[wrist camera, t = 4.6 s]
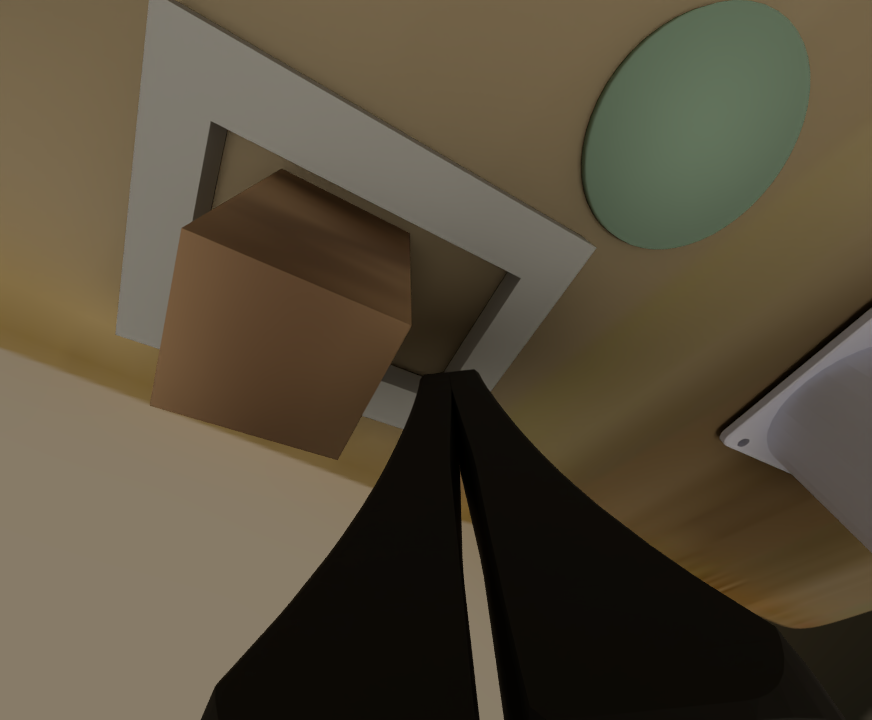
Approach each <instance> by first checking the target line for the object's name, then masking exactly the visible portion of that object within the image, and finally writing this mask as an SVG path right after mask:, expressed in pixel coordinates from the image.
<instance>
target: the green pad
mask: <svg viewBox="0 0 872 720" xmlns="http://www.w3.org/2000/svg"><path fill="white" fill-rule="evenodd" d="M809 93H810V68H809V60H808V55H807V52H806V49H805V45H804V42H803V41H802V39H801V37H800V35H799V33H798V31H797V29H796V28H795V27H794V26H793V24H792V23H791V22H790V21H789V19H787V18H786V17H785V16H784V15H782V14H781V13H780V12H779V11H777V10H775V9H773V8H771V7H769V6H767V5H765V4H761V3H757V2H753V1H744V0H732V1H724V2H717V3H714V4H711V5H707V6H704V7H701V8H697V9H694V10H691V11H689V12H686V13H684V14H682V15H680V16H678V17H676V18H674V19H672V20H670V21H669V22H667V23H666V24H664V25H662V26H661V27H659V28H658V29H657V30H655V31H654V32H653V33H652V34H650V35H649V36H648V37H646V38H645V39H644V40H643V41H642V42H641V43H640V44H639V45H638V46H637V47H636V48H635V49H634V50H633V51H632V52H631V53H630V54H629V55H628V56H627V57H626V59H625V60H624V61H623V62H622V63H621V64H620V66H619V67H618V68H617V70H616V71H615V73H614V74H613V75H612V77H611V78H610V80H609V81H608V83H607V84H606V86H605V88H604V90H603V92H602V94H601V95H600V97H599V99H598V101H597V104H596V106H595V108H594V111H593V113H592V115H591V118H590V121H589V124H588V128H587V131H586V135H585V140H584V145H583V152H582V181H583V187H584V192H585V195H586V198H587V202H588V204H589V206H590V208H591V210H592V212H593V214H594V215H595V217H596V218H597V220H598V221H599V222H600V223H601V224H602V225H603V226H604V228H605V229H606V230H608V231H609V232H611V233H612V234H613V235H615V236H616V237H618V238H619V239H621V240H623V241H625V242H627V243H629V244H631V245H634V246H637V247H641V248H647V249H670V248H677V247H681V246H685V245H689V244H691V243H694V242H697V241H700V240H702V239H704V238H706V237H708V236H710V235H712V234H714V233H716V232H718V231H719V230H721V229H722V228H724V227H726V226H727V225H729V224H730V223H731V222H733V221H734V220H735V219H737V218H738V217H739V216H740V215H742V214H743V213H744V212H745V211H746V210H747V209H749V208H750V207H751V206H752V205H753V204H754V203H755V202H756V201H757V200H758V199H759V197H760V196H761V195H762V194H763V193H764V192H765V191H766V189H767V188H768V187H769V186H770V185H771V183H772V182H773V181H774V179H775V178H776V176H777V175H778V174H779V172H780V171H781V169H782V168H783V166H784V164H785V162H786V161H787V159H788V157H789V156H790V154H791V152H792V150H793V147H794V145H795V143H796V141H797V139H798V136H799V134H800V131H801V128H802V125H803V122H804V119H805V115H806V111H807V107H808V100H809Z"/></svg>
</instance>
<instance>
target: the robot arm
mask: <svg viewBox="0 0 872 720" xmlns="http://www.w3.org/2000/svg"><path fill="white" fill-rule="evenodd" d="M720 440H721V441H722V442H723V443H724V444H725V445H726V446H728V447H730V448H732V449H735V450H737V451H739V452H742V453H744V454H746V455H748V456H751V457H753V458H755V459H758V460H760V461H762V462H765V463H767V464H769V465H771V466H774V467H776V468H778V469H781V470H783V471H785V472H788V473H790V474H792V475H793V476H794V477H795V478H796V479H797V480H798V481H799V482H800V483H801V484H802V485H803V486H804V487H805V488H806V489H807V490H808V491H809V492H810V493H811V494H812V495H813V496H814V497H815V498H816V499H817V500H818V501H819V502H820V503H821V504H822V505H824V506H825V507H826V508H827V509H828V510H829V511H830V512H831V513H832V514H833V515H834V516H835V517H836V518H837V519H838V520H839V521H840V522H841V523H842V524H843V525H844V526H845V527H846V528H847V529H848V530H849V531H850V532H851V533H852V534H853V535H854V536H855V537H856V538H857V539H858V540H859V541H860V542H861V543H862V544H863V545H864V546H865V547H866V548H867V549H868V550H869V551H870V552H871V553H872V307H871V308H870V309H869V310H868V311H867V312H865V313H864V314H863V315H862V316H861V317H859V318H858V319H857V320H856V321H855V322H853V323H852V324H851V325H850V326H849V327H847V328H846V329H845V330H844V331H843V332H841V333H840V334H839V335H838V336H837V337H835V338H834V339H833V340H832V341H831V342H829V343H828V344H827V345H826V346H825V347H823V348H822V349H821V350H820V351H818V352H817V353H816V354H815V355H814V356H812V357H811V358H810V359H809V360H808V361H806V362H805V363H804V364H803V365H802V366H800V367H799V368H798V369H797V370H796V371H794V372H793V373H792V374H791V375H790V376H788V377H787V378H786V379H785V380H784V381H782V382H781V383H780V384H779V385H778V386H776V387H775V388H774V389H773V390H772V391H770V392H769V393H768V394H767V395H766V396H764V397H763V398H762V399H761V400H760V401H758V402H757V403H756V404H755V405H754V406H752V407H751V408H750V409H749V410H748V411H746V412H745V413H744V414H743V415H742V416H740V417H739V418H738V419H737V420H735V421H734V422H733V423H732V424H731V425H729V426H728V427H727V428H726V429H725V430H723V432H722V433H721V435H720ZM459 465H460V466H459ZM460 472H461V476H462V481H463V485H464V489H465V494H466V498H467V502H468V507H469V511H470V515H471V520H472V524H473V528H474V532H475V537H476V541H477V545H478V550H479V554H480V559H481V564H482V569H483V575H484V581H485V588H486V595H487V602H488V609H489V615H490V623H491V630H492V637H493V644H494V651H495V658H496V665H497V672H498V679H499V686H500V693H501V700H502V708H503V714H504V720H846V719H845V718H844V717H843V715H842V714H841V712H840V711H839V709H838V708H837V707H836V705H835V704H834V702H833V701H832V699H831V698H830V697H829V695H828V694H827V692H826V691H825V689H824V688H823V686H822V685H821V683H820V682H819V681H818V679H817V678H816V677H815V675H814V674H813V673H812V671H811V670H810V669H809V667H808V666H807V665H806V663H805V662H804V661H803V660H802V659H801V658H800V656H799V655H798V654H797V653H796V651H795V650H794V649H793V648H792V646H791V645H790V644H789V643H788V642H787V640H786V639H785V638H784V637H783V636H782V634H781V633H780V632H779V630H778V629H777V628H776V627H775V626H774V625H772V624H770V623H769V622H767V621H766V620H764V619H762V618H761V617H759V616H758V615H756V614H754V613H753V612H751V611H750V610H748V609H746V608H745V607H743V606H742V605H740V604H738V603H737V602H735V601H734V600H732V599H730V598H729V597H727V596H726V595H724V594H722V593H721V592H719V591H718V590H716V589H714V588H713V587H711V586H710V585H708V584H706V583H705V582H703V581H702V580H700V579H699V578H697V577H696V576H694V575H693V574H691V573H690V572H688V571H687V570H685V569H684V568H682V567H681V566H679V565H678V564H677V563H675V562H674V561H672V560H671V559H669V558H668V557H667V556H665V555H664V554H662V553H661V552H659V551H658V550H656V549H655V548H654V547H652V546H651V545H649V544H648V543H647V542H645V541H644V540H643V539H642V538H640V537H639V536H638V535H636V534H635V533H634V532H632V531H631V530H630V529H628V528H627V527H626V526H625V525H623V524H622V523H621V522H619V521H618V520H617V519H615V518H614V517H613V516H611V515H610V514H609V513H608V512H606V511H605V510H604V509H602V508H601V507H600V506H599V505H597V504H596V503H595V502H594V501H593V500H592V499H590V498H589V497H588V496H587V495H586V494H585V493H583V492H582V491H581V490H580V489H579V488H577V487H576V486H575V485H574V484H573V483H572V482H571V481H570V480H569V479H568V478H566V477H565V476H564V475H563V474H562V473H561V472H560V471H559V470H558V469H557V468H556V467H555V466H554V465H553V464H552V463H551V462H550V461H549V460H548V459H547V458H546V457H545V456H544V455H543V454H542V453H541V452H540V451H539V450H538V449H537V448H536V447H535V446H534V445H533V444H532V443H531V442H530V441H529V440H528V438H527V437H526V436H525V435H524V434H523V433H522V432H521V430H520V429H519V428H518V427H517V426H516V425H515V423H514V422H513V421H512V420H511V418H510V417H509V416H508V415H507V414H506V412H505V411H504V410H503V409H502V407H501V406H500V405H499V403H498V402H497V401H496V399H495V398H494V396H493V395H492V394H491V392H490V391H489V389H488V388H487V386H486V385H485V383H484V381H483V380H482V378H481V376H480V374H479V372H477V371H476V370H475V369H470V370H462V371H453V372H444V373H436V374H427V375H423V376H422V377H421V379H420V382H419V387H418V391H417V394H416V398H415V401H414V404H413V406H412V409H411V412H410V415H409V417H408V420H407V422H406V424H405V427H404V429H403V432H402V434H401V436H400V438H399V441H398V443H397V445H396V447H395V449H394V451H393V453H392V455H391V457H390V459H389V461H388V463H387V465H386V467H385V469H384V470H383V472H382V474H381V476H380V478H379V479H378V481H377V483H376V485H375V486H374V488H373V490H372V491H371V493H370V494H369V496H368V498H367V499H366V501H365V503H364V504H363V506H362V507H361V509H360V510H359V512H358V513H357V515H356V516H355V518H354V519H353V521H352V522H351V524H350V525H349V527H348V528H347V530H346V531H345V532H344V534H343V536H342V537H341V538H340V540H339V541H338V542H337V544H336V545H335V547H334V548H333V549H332V550H331V552H330V553H329V555H328V556H327V557H326V558H325V560H324V561H323V562H322V564H321V565H320V566H319V567H318V568H317V570H316V571H315V572H314V573H313V575H312V576H311V578H309V580H308V581H307V582H306V583H305V585H304V586H303V587H302V588H301V590H300V591H299V592H298V593H297V595H296V596H295V597H294V598H293V600H292V601H291V602H290V603H289V604H288V606H287V607H286V608H285V609H284V610H283V612H282V613H281V614H280V615H279V616H278V617H277V618H276V620H275V621H274V622H273V623H272V624H271V625H270V626H269V627H268V628H267V629H266V631H265V632H264V633H263V634H262V635H261V636H260V637H259V638H258V640H256V642H255V643H254V644H253V645H252V646H251V647H250V648H249V649H248V650H247V652H246V653H245V654H244V655H243V656H242V657H241V658H240V659H239V661H238V662H237V663H236V664H235V665H234V666H233V667H232V668H231V669H230V670H229V671H228V673H227V674H226V675H225V676H224V677H223V678H222V679H221V680H220V681H219V682H218V683H217V685H216V686H215V688H214V690H213V693H212V695H211V697H210V700H209V702H208V704H207V706H206V709H205V711H204V714H203V716H202V718H201V720H479V711H478V702H477V693H476V684H475V675H474V666H473V657H472V649H471V639H470V630H469V621H468V612H467V603H466V594H465V585H464V574H463V561H462V560H463V559H462V528H461V527H462V526H461V490H460Z"/></svg>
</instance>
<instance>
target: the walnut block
mask: <svg viewBox="0 0 872 720" xmlns="http://www.w3.org/2000/svg"><path fill="white" fill-rule="evenodd" d="M411 326H412V320H411V276H410V233H408V232H406V231H404V230H402V229H400V228H398V227H396V226H394V225H392V224H390V223H388V222H386V221H384V220H382V219H380V218H378V217H376V216H374V215H372V214H370V213H368V212H367V211H365V210H363V209H361V208H359V207H357V206H355V205H353V204H351V203H349V202H347V201H345V200H343V199H341V198H339V197H337V196H335V195H333V194H331V193H329V192H327V191H325V190H323V189H321V188H319V187H317V186H315V185H313V184H311V183H309V182H307V181H305V180H303V179H301V178H299V177H297V176H295V175H293V174H291V173H289V172H287V171H285V170H283V169H280V170H279V171H277V172H275V173H274V174H272V175H270V176H269V177H267V178H265V179H264V180H262V181H260V182H258V183H257V184H255V185H253V186H252V187H250V188H248V189H247V190H245V191H243V192H241V193H240V194H238V195H236V196H235V197H233V198H231V199H230V200H228V201H226V202H224V203H223V204H221V205H219V206H218V207H216V208H214V209H213V210H211V211H209V212H208V213H206V214H204V215H202V216H201V217H199V218H197V219H196V220H194V221H192V222H191V223H189V224H187V225H185V226H184V227H182V228H181V233H180V239H179V244H178V250H177V255H176V261H175V267H174V272H173V278H172V283H171V289H170V295H169V300H168V306H167V312H166V317H165V323H164V328H163V334H162V340H161V345H160V351H159V357H158V362H157V368H156V373H155V379H154V385H153V390H152V396H151V402H150V406H153V407H156V408H160V409H163V410H167V411H170V412H174V413H177V414H181V415H184V416H187V417H191V418H194V419H198V420H201V421H205V422H208V423H212V424H215V425H219V426H222V427H225V428H229V429H232V430H236V431H239V432H243V433H246V434H250V435H253V436H256V437H260V438H263V439H267V440H270V441H274V442H277V443H281V444H284V445H287V446H291V447H294V448H298V449H301V450H305V451H308V452H312V453H315V454H318V455H322V456H325V457H329V458H332V459H336V460H338V458H339V456H340V455H341V453H342V451H343V449H344V447H345V446H346V444H347V442H348V440H349V438H350V437H351V435H352V433H353V431H354V429H355V427H356V426H357V424H358V422H359V420H360V418H361V417H362V415H363V413H364V411H365V409H366V407H367V406H368V404H369V402H370V400H371V398H372V397H373V395H374V393H375V391H376V389H377V388H378V386H379V384H380V382H381V380H382V378H383V377H384V375H385V373H386V371H387V369H388V368H389V366H390V364H391V362H392V360H393V359H394V357H395V355H396V353H397V351H398V349H399V348H400V346H401V344H402V342H403V340H404V339H405V337H406V335H407V333H408V331H409V329H410V328H411Z"/></svg>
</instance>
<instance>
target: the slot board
mask: <svg viewBox="0 0 872 720" xmlns="http://www.w3.org/2000/svg"><path fill="white" fill-rule="evenodd" d="M227 129H228V130H230V131H232V132H233V133H235V134H237V135H239V136H241V137H243V138H245V139H247V140H249V141H251V142H253V143H255V144H257V145H259V146H261V147H263V148H265V149H267V150H269V151H271V152H273V153H275V154H277V155H279V156H281V157H283V158H285V159H287V160H289V161H291V162H293V163H295V164H297V165H299V166H301V167H302V168H304V169H306V170H308V171H310V172H312V173H314V174H316V175H318V176H320V177H322V178H324V179H326V180H328V181H330V182H332V183H334V184H336V185H338V186H340V187H342V188H344V189H346V190H348V191H350V192H352V193H354V194H356V195H358V196H360V197H362V198H364V199H366V200H368V201H369V202H371V203H373V204H375V205H377V206H379V207H381V208H383V209H385V210H387V211H389V212H391V213H393V214H395V215H397V216H399V217H401V218H403V219H405V220H407V221H409V222H411V223H413V224H415V225H417V226H419V227H421V228H423V229H425V230H427V231H429V232H431V233H433V234H435V235H437V236H438V237H440V238H442V239H444V240H446V241H448V242H450V243H452V244H454V245H456V246H458V247H460V248H462V249H464V250H466V251H468V252H470V253H472V254H474V255H476V256H478V257H480V258H482V259H484V260H486V261H488V262H490V263H492V264H494V265H496V266H498V267H500V268H502V269H504V270H505V271H507V274H506V275H505V277H504V278H503V280H502V282H501V283H500V285H499V286H498V288H497V289H496V291H495V293H494V294H493V296H492V297H491V299H490V300H489V302H488V304H487V305H486V307H485V308H484V310H483V311H482V313H481V315H480V316H479V318H478V319H477V321H476V322H475V324H474V326H473V327H472V329H471V330H470V332H469V333H468V335H467V336H466V338H465V340H464V341H463V343H462V344H461V346H460V347H459V349H458V351H457V352H456V354H455V355H454V357H453V358H452V360H451V362H450V363H449V365H448V366H447V368H446V369H445V371H444V372H453V371H462V370H470V369H475V370H476V371H477V372H479V374H480V376H481V378H482V380H483V381H484V383H485V385H486V386H487V388H488V389H489V391H490V392H491V391H492V389H493V388H494V386H495V385H496V384H497V382H498V381H499V380H500V378H501V377H502V376H503V374H504V373H505V372H506V370H507V369H508V367H509V366H510V365H511V363H512V362H513V361H514V359H515V358H516V357H517V355H518V354H519V353H520V351H521V350H522V348H523V347H524V346H525V344H526V343H527V342H528V340H529V339H530V338H531V336H532V335H533V334H534V332H535V331H536V329H537V328H538V327H539V325H540V324H541V323H542V321H543V320H544V319H545V317H546V316H547V314H548V313H549V312H550V310H551V309H552V308H553V306H554V305H555V304H556V302H557V301H558V300H559V298H560V297H561V295H562V294H563V293H564V291H565V290H566V289H567V287H568V286H569V285H570V283H571V282H572V281H573V279H574V278H575V276H576V275H577V274H578V272H579V271H580V270H581V268H582V267H583V266H584V264H585V263H586V262H587V260H588V259H589V257H590V256H591V255H592V253H593V252H594V251H595V249H596V247H595V246H594V245H592V244H591V243H590V242H589V241H587V240H586V239H585V238H584V237H582V236H581V235H579V234H577V233H576V232H574V231H572V230H570V229H569V228H567V227H565V226H564V225H562V224H560V223H558V222H557V221H555V220H553V219H551V218H550V217H548V216H546V215H545V214H543V213H541V212H539V211H538V210H536V209H534V208H533V207H531V206H529V205H527V204H526V203H524V202H522V201H520V200H519V199H517V198H515V197H514V196H512V195H510V194H508V193H507V192H505V191H503V190H501V189H500V188H498V187H496V186H495V185H493V184H491V183H489V182H488V181H486V180H484V179H483V178H481V177H479V176H477V175H476V174H474V173H472V172H470V171H469V170H467V169H465V168H464V167H462V166H460V165H458V164H457V163H455V162H453V161H452V160H450V159H448V158H446V157H445V156H443V155H441V154H439V153H438V152H436V151H434V150H433V149H431V148H429V147H427V146H426V145H424V144H422V143H420V142H419V141H417V140H415V139H414V138H412V137H410V136H408V135H407V134H405V133H403V132H402V131H400V130H398V129H396V128H395V127H393V126H391V125H389V124H388V123H386V122H384V121H383V120H381V119H379V118H377V117H376V116H374V115H372V114H371V113H369V112H367V111H365V110H364V109H362V108H360V107H358V106H357V105H355V104H353V103H352V102H350V101H348V100H346V99H345V98H343V97H341V96H339V95H338V94H336V93H334V92H333V91H331V90H329V89H327V88H326V87H324V86H322V85H321V84H319V83H317V82H315V81H314V80H312V79H310V78H308V77H307V76H305V75H303V74H302V73H300V72H298V71H296V70H295V69H293V68H291V67H290V66H288V65H286V64H284V63H283V62H281V61H279V60H277V59H276V58H274V57H272V56H271V55H269V54H267V53H265V52H264V51H262V50H260V49H258V48H257V47H255V46H253V45H252V44H250V43H248V42H246V41H245V40H243V39H241V38H240V37H238V36H236V35H234V34H233V33H231V32H229V31H227V30H226V29H224V28H222V27H221V26H219V25H217V24H215V23H214V22H212V21H210V20H209V19H207V18H205V17H203V16H202V15H200V14H198V13H196V12H195V11H193V10H191V9H190V8H188V7H186V6H184V5H183V4H181V3H179V2H177V1H175V0H149V6H148V16H147V26H146V36H145V46H144V56H143V66H142V76H141V86H140V96H139V106H138V116H137V126H136V136H135V146H134V156H133V166H132V176H131V186H130V196H129V206H128V216H127V226H126V236H125V245H124V255H123V265H122V275H121V285H120V295H119V305H118V315H117V325H116V335H118V336H121V337H124V338H127V339H130V340H133V341H136V342H139V343H143V344H146V345H149V346H152V347H155V348H158V349H160V345H161V340H162V334H163V328H164V323H165V317H166V312H167V306H168V300H169V295H170V289H171V283H172V278H173V272H174V267H175V261H176V255H177V250H178V244H179V239H180V233H181V228H182V227H184V226H185V225H187V224H189V223H191V222H192V221H194V220H196V219H197V218H199V217H201V216H202V215H204V214H206V213H208V212H209V211H211V206H212V201H213V197H214V192H215V187H216V182H217V177H218V172H219V167H220V163H221V158H222V153H223V148H224V143H225V138H226V134H227ZM420 379H421V376H419V375H416V374H414V373H411V372H408V371H406V370H403V369H400V368H398V367H395V366H392V365H390V366H389V368H388V369H387V371H386V373H385V375H384V377H383V378H382V380H381V382H380V384H379V386H378V388H377V389H376V391H375V393H374V395H373V397H372V398H371V400H370V402H369V404H368V406H367V407H366V409H365V411H364V413H363V415H362V416H364V417H367V418H370V419H373V420H377V421H380V422H383V423H386V424H389V425H392V426H395V427H398V428H401V429H404V427H405V424H406V422H407V420H408V417H409V415H410V412H411V409H412V406H413V404H414V401H415V398H416V394H417V391H418V387H419V382H420Z"/></svg>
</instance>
